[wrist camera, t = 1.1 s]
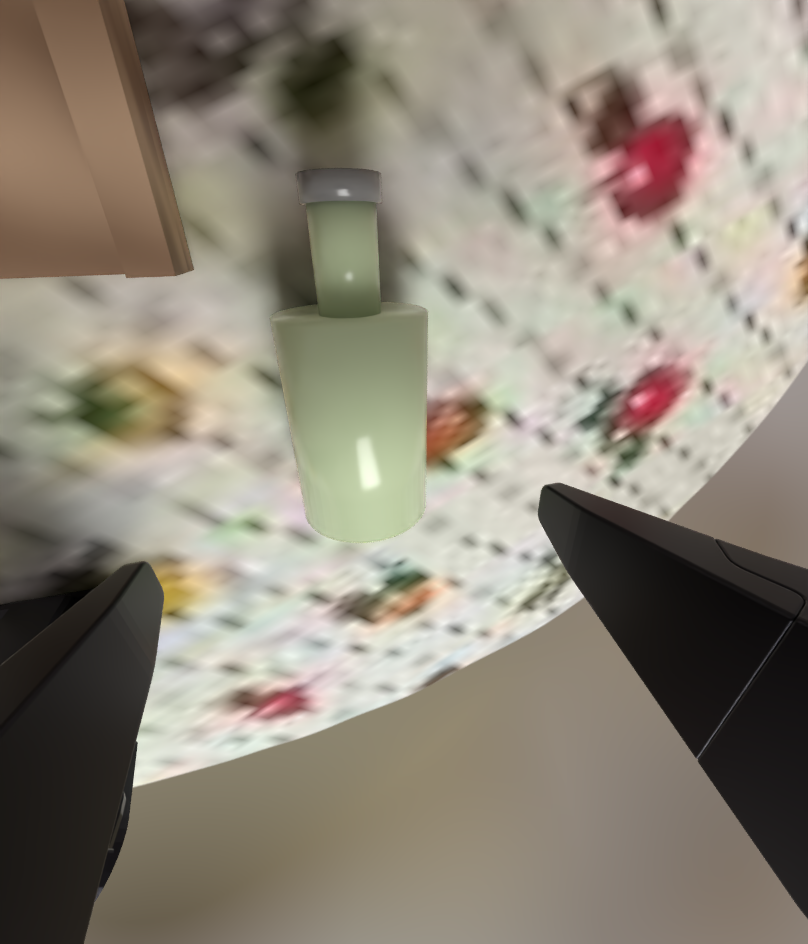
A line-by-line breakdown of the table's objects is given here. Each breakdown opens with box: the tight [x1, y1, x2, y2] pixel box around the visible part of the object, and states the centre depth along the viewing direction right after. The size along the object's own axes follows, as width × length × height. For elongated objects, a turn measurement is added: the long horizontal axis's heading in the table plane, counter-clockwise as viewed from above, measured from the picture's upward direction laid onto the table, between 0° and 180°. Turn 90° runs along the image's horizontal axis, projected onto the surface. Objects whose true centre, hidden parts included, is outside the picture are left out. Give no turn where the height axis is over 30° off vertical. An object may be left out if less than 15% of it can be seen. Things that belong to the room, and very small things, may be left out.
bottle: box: [270, 168, 428, 543], centre depth 17 cm, size 13×6×6 cm, turn 1°
